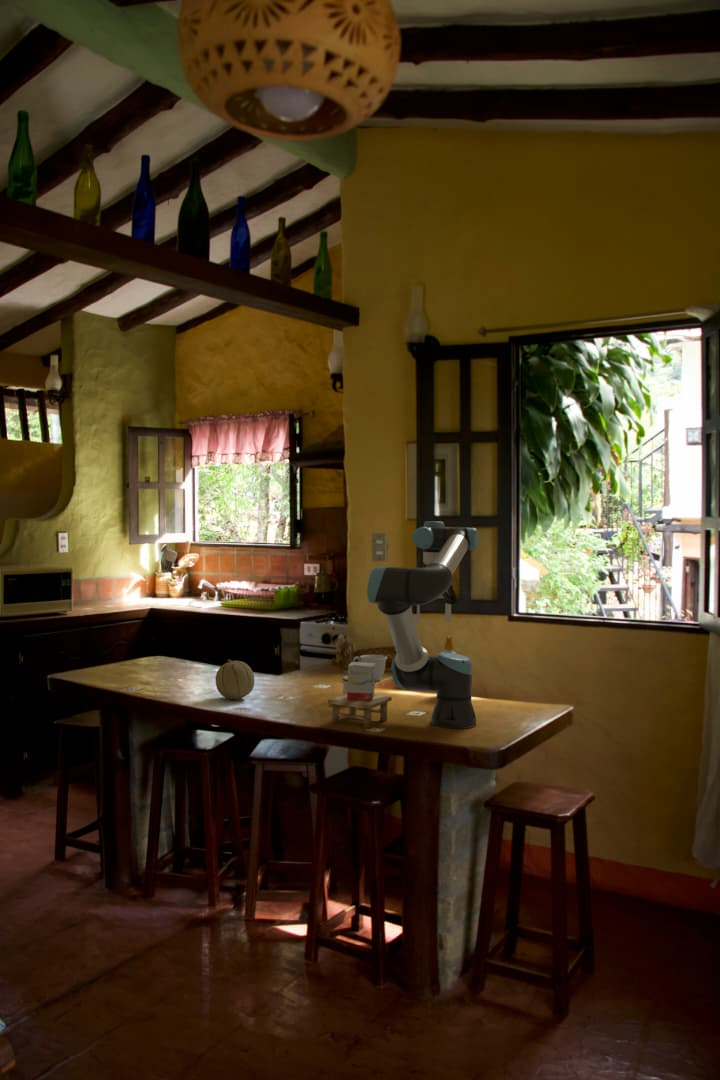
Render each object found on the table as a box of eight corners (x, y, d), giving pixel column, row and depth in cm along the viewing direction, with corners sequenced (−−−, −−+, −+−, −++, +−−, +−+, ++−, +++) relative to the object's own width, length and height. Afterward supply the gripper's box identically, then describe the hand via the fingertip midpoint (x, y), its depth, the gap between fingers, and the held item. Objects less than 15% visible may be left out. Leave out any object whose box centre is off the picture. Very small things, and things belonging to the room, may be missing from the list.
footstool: (391, 720, 303) (391, 696, 303) (370, 729, 289) (370, 705, 289) (350, 714, 311) (350, 692, 311) (327, 723, 297) (328, 699, 296)
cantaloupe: (252, 703, 327) (252, 663, 326) (212, 703, 326) (212, 662, 326) (256, 695, 341) (257, 656, 341) (218, 695, 341) (219, 656, 341)
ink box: (371, 701, 295) (372, 665, 295) (346, 700, 296) (347, 664, 296) (375, 696, 304) (375, 662, 303) (350, 695, 305) (351, 660, 305)
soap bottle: (436, 698, 342) (437, 637, 342) (437, 693, 351) (438, 634, 351) (458, 699, 341) (459, 637, 340) (459, 694, 350) (460, 634, 350)
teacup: (353, 676, 386) (353, 654, 386) (387, 677, 386) (387, 654, 386) (351, 681, 374) (352, 658, 374) (387, 682, 374) (387, 659, 374)
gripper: (456, 563, 329) (454, 619, 330) (398, 563, 318) (397, 622, 318) (467, 564, 323) (466, 622, 323) (409, 564, 311) (408, 625, 311)
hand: (432, 622), depth 321 cm, fingers open, 13 cm apart
